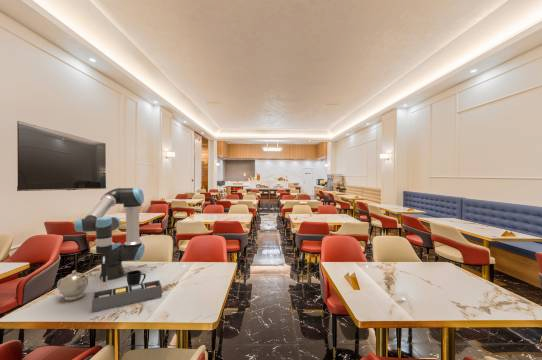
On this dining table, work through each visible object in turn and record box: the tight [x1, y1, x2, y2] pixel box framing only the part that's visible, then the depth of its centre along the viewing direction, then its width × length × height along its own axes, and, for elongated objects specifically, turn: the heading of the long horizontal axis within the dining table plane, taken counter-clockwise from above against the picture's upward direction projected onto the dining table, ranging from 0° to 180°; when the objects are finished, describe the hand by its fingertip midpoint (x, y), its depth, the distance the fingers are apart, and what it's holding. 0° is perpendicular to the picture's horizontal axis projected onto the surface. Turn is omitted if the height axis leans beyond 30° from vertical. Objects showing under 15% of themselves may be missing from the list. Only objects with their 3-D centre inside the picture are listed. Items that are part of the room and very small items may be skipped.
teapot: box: [56, 269, 89, 302], centre depth 149 cm, size 18×14×16 cm
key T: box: [116, 288, 126, 294], centre depth 144 cm, size 5×5×4 cm
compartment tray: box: [91, 279, 163, 313], centre depth 146 cm, size 10×34×7 cm, turn 121°
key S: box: [131, 285, 142, 291], centre depth 148 cm, size 5×5×4 cm
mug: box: [126, 270, 147, 286], centre depth 164 cm, size 8×12×10 cm
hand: (104, 286), depth 140 cm, fingers closed
